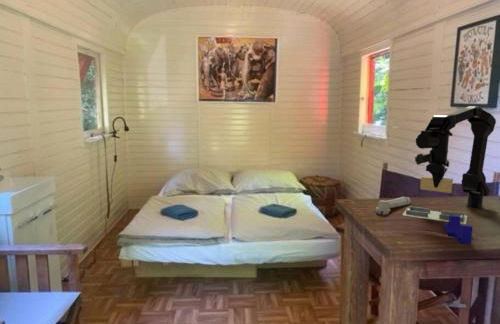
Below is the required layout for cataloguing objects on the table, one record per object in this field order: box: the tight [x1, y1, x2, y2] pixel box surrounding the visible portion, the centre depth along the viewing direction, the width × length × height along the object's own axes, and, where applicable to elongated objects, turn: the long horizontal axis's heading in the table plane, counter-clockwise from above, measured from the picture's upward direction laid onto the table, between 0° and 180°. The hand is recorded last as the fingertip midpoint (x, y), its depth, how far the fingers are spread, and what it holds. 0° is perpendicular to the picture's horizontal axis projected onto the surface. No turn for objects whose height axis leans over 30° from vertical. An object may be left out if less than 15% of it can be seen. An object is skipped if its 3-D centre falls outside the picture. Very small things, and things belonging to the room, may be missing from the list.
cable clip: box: [443, 215, 473, 245], centre depth 127 cm, size 12×4×6 cm, turn 171°
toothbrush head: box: [375, 196, 412, 215], centre depth 159 cm, size 5×7×25 cm
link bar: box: [419, 175, 454, 194], centre depth 149 cm, size 3×11×5 cm, turn 56°
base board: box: [402, 207, 468, 225], centre depth 148 cm, size 12×22×1 cm, turn 58°
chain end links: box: [405, 205, 465, 222], centre depth 148 cm, size 7×20×2 cm, turn 58°
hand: (436, 186), depth 149 cm, fingers closed on link bar, 3 cm apart
